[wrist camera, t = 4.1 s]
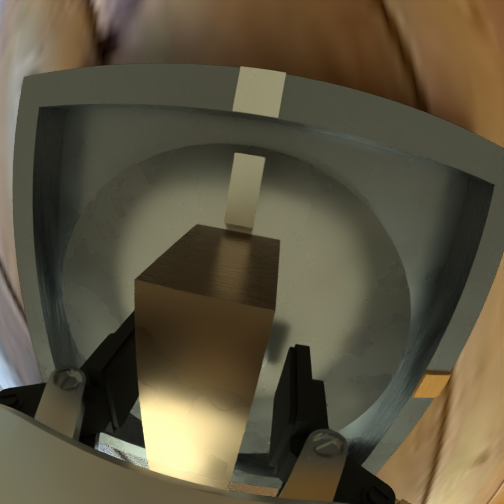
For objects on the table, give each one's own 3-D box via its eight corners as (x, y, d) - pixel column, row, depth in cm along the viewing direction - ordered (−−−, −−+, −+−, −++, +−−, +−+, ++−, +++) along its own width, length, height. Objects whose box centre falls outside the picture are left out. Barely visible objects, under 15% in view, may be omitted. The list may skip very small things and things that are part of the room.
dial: (336, 453, 16) (342, 533, 10) (91, 398, 16) (48, 462, 11) (449, 195, 10) (549, 236, 5) (75, 130, 11) (-31, 134, 6)
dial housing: (353, 449, 19) (359, 493, 15) (83, 389, 20) (57, 424, 16) (475, 154, 12) (527, 160, 8) (73, 85, 13) (20, 76, 9)
